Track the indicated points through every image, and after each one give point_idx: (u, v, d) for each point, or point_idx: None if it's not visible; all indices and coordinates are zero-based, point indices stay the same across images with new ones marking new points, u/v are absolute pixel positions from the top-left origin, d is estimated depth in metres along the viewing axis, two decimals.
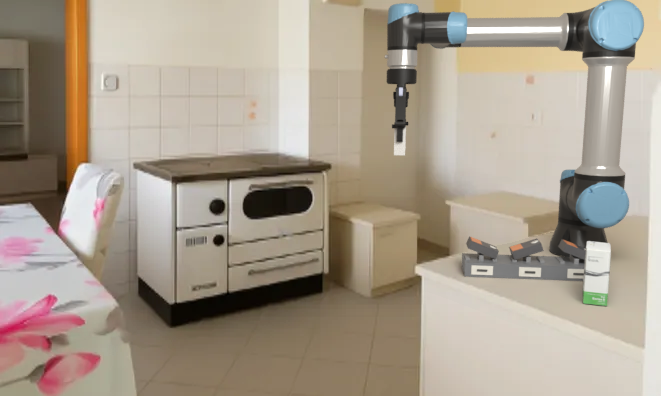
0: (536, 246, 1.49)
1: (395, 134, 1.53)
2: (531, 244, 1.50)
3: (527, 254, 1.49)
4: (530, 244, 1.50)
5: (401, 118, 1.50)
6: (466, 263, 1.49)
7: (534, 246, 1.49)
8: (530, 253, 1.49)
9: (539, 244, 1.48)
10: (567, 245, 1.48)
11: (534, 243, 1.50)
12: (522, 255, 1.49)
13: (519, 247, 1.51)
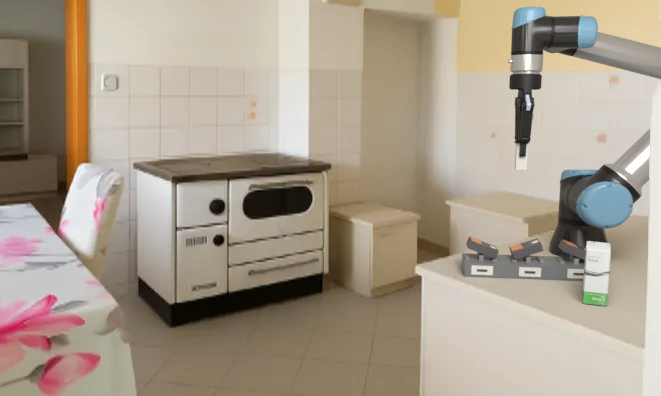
0: (536, 246, 1.49)
1: (517, 149, 1.56)
2: (531, 244, 1.50)
3: (527, 254, 1.49)
4: (530, 244, 1.50)
5: (526, 135, 1.52)
6: (466, 263, 1.49)
7: (534, 246, 1.49)
8: (530, 253, 1.49)
9: (539, 244, 1.48)
10: (567, 245, 1.48)
11: (534, 243, 1.50)
12: (522, 255, 1.49)
13: (519, 247, 1.51)
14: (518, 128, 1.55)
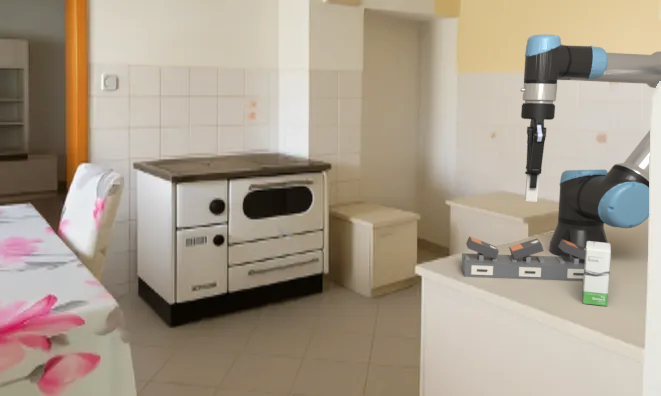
0: (536, 246, 1.49)
1: (528, 180, 1.51)
2: (531, 244, 1.50)
3: (527, 254, 1.49)
4: (530, 244, 1.50)
5: (537, 166, 1.47)
6: (466, 263, 1.49)
7: (534, 246, 1.49)
8: (530, 253, 1.49)
9: (539, 244, 1.48)
10: (567, 245, 1.48)
11: (534, 243, 1.50)
12: (522, 255, 1.49)
13: (519, 247, 1.51)
14: (529, 159, 1.50)
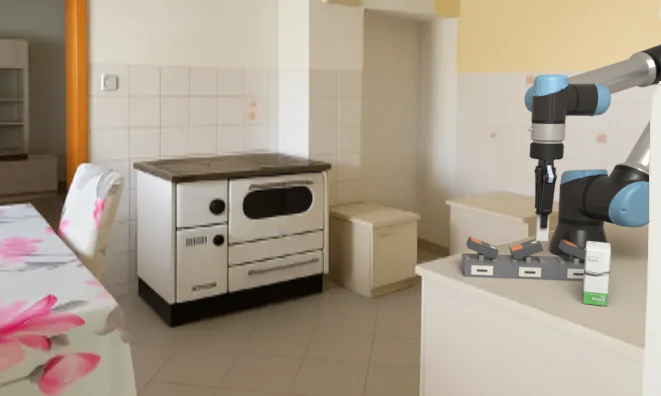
0: (536, 246, 1.49)
1: (538, 220, 1.49)
2: (531, 244, 1.50)
3: (527, 254, 1.49)
4: (530, 244, 1.50)
5: (548, 207, 1.45)
6: (466, 263, 1.49)
7: (534, 246, 1.49)
8: (530, 253, 1.49)
9: (539, 244, 1.48)
10: (567, 245, 1.48)
11: (534, 243, 1.50)
12: (522, 255, 1.49)
13: (519, 247, 1.51)
14: (539, 198, 1.48)
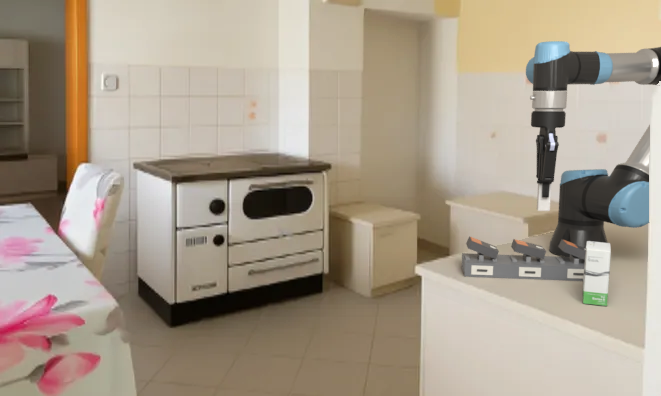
0: (540, 251, 1.49)
1: (540, 189, 1.48)
2: (536, 247, 1.50)
3: (528, 253, 1.49)
4: (535, 247, 1.50)
5: (550, 175, 1.44)
6: (466, 263, 1.49)
7: (538, 250, 1.49)
8: (531, 254, 1.49)
9: (543, 251, 1.49)
10: (567, 245, 1.48)
11: (539, 248, 1.50)
12: (523, 252, 1.49)
13: (524, 244, 1.50)
14: (540, 167, 1.47)
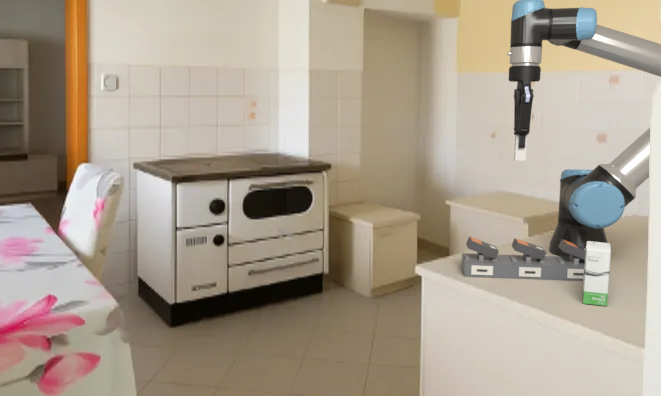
0: (540, 252, 1.49)
1: (517, 140, 1.58)
2: (536, 248, 1.50)
3: (528, 253, 1.49)
4: (536, 247, 1.50)
5: (526, 126, 1.54)
6: (466, 263, 1.49)
7: (539, 251, 1.49)
8: (531, 254, 1.49)
9: (544, 252, 1.49)
10: (567, 245, 1.48)
11: (539, 249, 1.50)
12: (523, 251, 1.49)
13: (525, 243, 1.50)
14: None
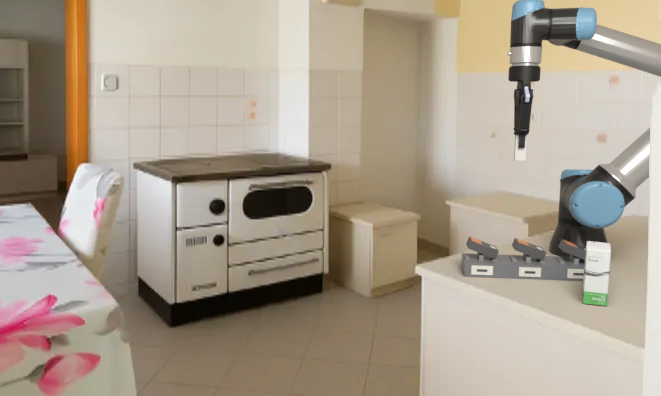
0: (540, 252, 1.49)
1: (516, 140, 1.58)
2: (537, 248, 1.50)
3: (528, 253, 1.49)
4: (536, 247, 1.50)
5: (525, 126, 1.54)
6: (466, 263, 1.49)
7: (539, 251, 1.49)
8: (531, 254, 1.49)
9: (544, 252, 1.49)
10: (567, 245, 1.48)
11: (540, 249, 1.50)
12: (523, 251, 1.49)
13: (525, 243, 1.50)
14: (517, 120, 1.57)
